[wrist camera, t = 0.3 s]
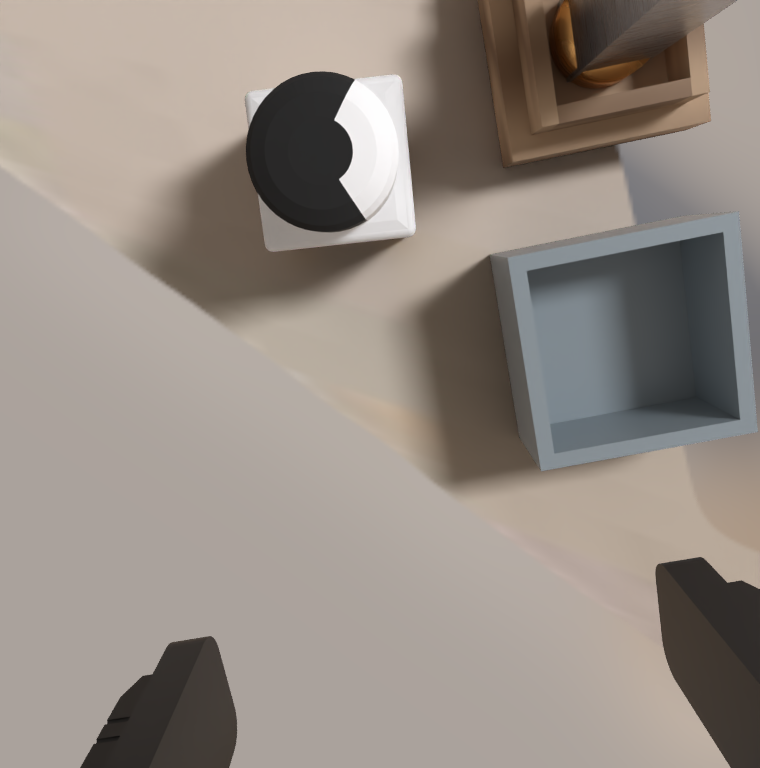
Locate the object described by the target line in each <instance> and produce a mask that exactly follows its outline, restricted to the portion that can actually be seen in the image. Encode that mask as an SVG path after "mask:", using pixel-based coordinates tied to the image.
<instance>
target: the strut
mask: <svg viewBox="0 0 760 768" xmlns="http://www.w3.org/2000/svg"><path fill="white" fill-rule="evenodd" d="M735 1H737V0H560V1H559V2H558V4H557V11H556V13H555V15H554V17H553V20H552V23H551V27H550V34H549V44H550V51H551V55H552V58H553V60H554V62H555V65H556V66H557V68H558V69H559V71H560V72H561V73H562V74H563V75H564V76H565V77H566V79H567V83H568V82H573V83H574V84H577V85H579V86H582V87H585V88H592V89H598V88H605V87H609V86H612V85H614V84H616V83H618V82H620V81H622V80H623V79H625V78H626V77H628V76H629V75H631V74H632V73H633V72H635V71H636V70H638V69H639V68H640V67H642V66H643V65H644V64H645V63H646V62H648V61H649V60H651V59H652V58H654V57H655V56H657V55H658V54H659V53H661V52H662V51H664V50H665V49H667V48H668V47H670V46H671V45H673V44H674V43H676V42H677V41H678V40H680V39H681V38H683V37H684V36H686V35H687V34H689V33H690V32H692V31H693V30H695V29H696V28H697V27H699V26H700V25H702V24H703V23H705V22H706V21H708V20H709V19H711V18H712V17H713V16H715V15H716V14H718V13H719V12H721V11H722V10H724V9H725V8H727V7H728V6H730V5H731V4H733V3H734V2H735Z"/></svg>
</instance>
